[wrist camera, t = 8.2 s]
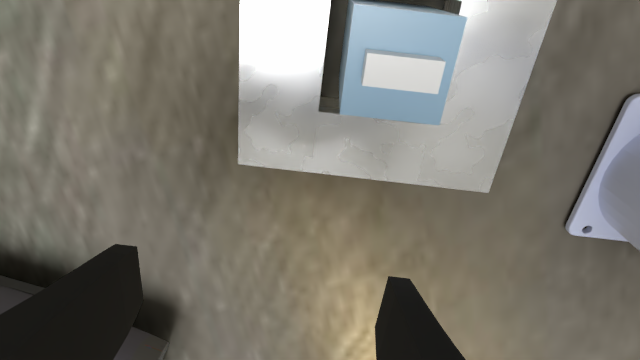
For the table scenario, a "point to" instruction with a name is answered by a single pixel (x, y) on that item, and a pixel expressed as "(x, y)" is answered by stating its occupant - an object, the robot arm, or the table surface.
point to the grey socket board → (372, 133)
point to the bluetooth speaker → (136, 351)
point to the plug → (398, 60)
